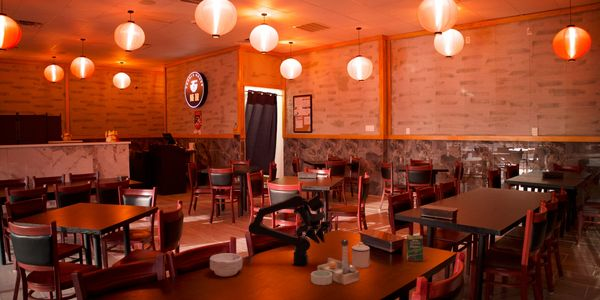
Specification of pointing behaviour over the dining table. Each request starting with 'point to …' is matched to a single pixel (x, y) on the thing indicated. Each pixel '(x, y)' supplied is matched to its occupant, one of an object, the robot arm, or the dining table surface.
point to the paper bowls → (225, 264)
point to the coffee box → (414, 247)
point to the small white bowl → (321, 277)
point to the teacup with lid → (361, 255)
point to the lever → (344, 259)
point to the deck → (340, 274)
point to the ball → (332, 264)
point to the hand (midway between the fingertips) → (321, 242)
